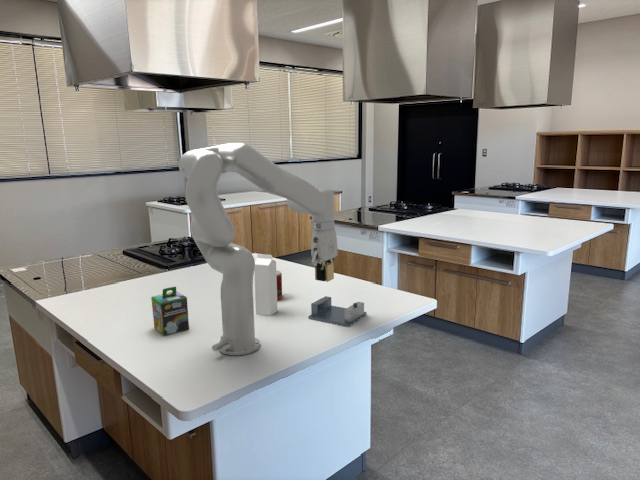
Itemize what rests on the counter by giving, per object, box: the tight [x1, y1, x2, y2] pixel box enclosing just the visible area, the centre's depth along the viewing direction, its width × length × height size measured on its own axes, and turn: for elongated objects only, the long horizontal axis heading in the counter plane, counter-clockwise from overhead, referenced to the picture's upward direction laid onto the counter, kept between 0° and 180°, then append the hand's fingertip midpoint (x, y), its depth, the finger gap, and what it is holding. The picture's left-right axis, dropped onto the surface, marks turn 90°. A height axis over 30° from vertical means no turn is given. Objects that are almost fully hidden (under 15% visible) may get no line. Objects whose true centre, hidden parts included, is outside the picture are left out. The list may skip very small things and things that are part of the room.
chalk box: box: [150, 286, 190, 337], centre depth 156 cm, size 9×9×15 cm
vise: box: [308, 296, 367, 327], centre depth 167 cm, size 14×16×5 cm
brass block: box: [314, 262, 335, 283], centre depth 159 cm, size 4×5×6 cm
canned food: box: [276, 269, 283, 302], centre depth 187 cm, size 8×8×11 cm
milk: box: [253, 253, 278, 317], centre depth 170 cm, size 6×6×22 cm
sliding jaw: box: [345, 301, 365, 322], centre depth 163 cm, size 10×2×5 cm, turn 149°
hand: (324, 278), depth 159 cm, fingers closed on brass block, 4 cm apart
